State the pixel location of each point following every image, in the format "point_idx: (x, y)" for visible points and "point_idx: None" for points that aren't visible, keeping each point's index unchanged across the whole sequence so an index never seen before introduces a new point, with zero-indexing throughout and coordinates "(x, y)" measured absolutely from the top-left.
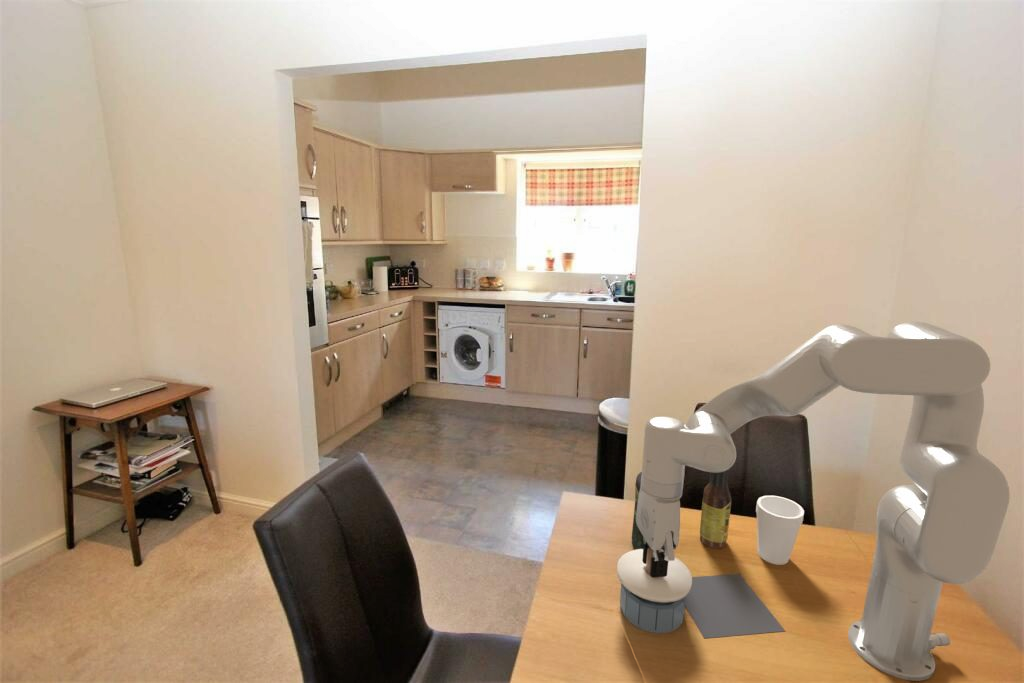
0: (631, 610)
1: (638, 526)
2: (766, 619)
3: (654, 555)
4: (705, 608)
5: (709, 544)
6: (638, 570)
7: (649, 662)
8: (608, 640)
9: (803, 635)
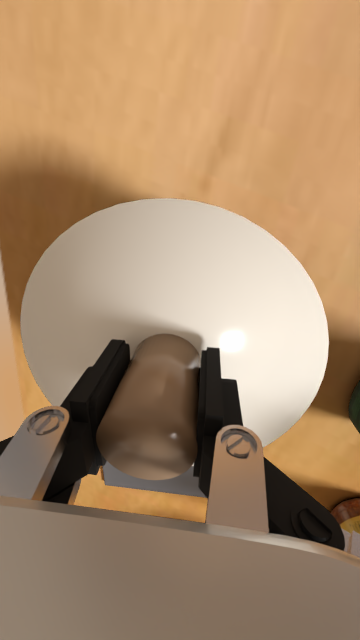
0: None
1: (277, 569)
2: (130, 477)
3: (58, 431)
4: None
5: (346, 507)
6: (182, 307)
7: (27, 225)
8: (91, 131)
9: (100, 496)
